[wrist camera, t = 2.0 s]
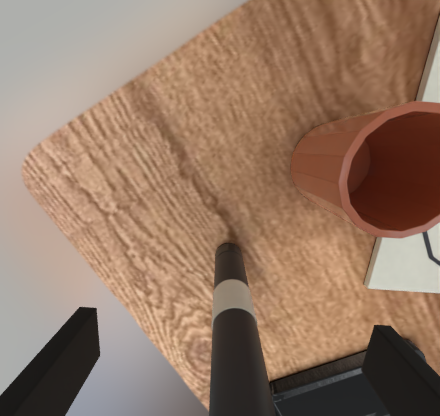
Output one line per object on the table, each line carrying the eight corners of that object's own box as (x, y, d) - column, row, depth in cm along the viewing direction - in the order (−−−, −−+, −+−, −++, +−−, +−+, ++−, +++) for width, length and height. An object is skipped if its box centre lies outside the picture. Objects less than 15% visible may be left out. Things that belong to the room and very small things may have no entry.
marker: (215, 241, 18) (207, 451, 6) (243, 243, 18) (297, 456, 6) (213, 266, 19) (202, 507, 6) (240, 267, 19) (283, 510, 6)
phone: (263, 397, 21) (422, 346, 19) (261, 385, 22) (411, 336, 20) (290, 448, 23) (437, 406, 21) (287, 435, 24) (427, 393, 22)
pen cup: (297, 118, 16) (357, 95, 9) (380, 125, 16) (500, 107, 9) (284, 200, 17) (327, 233, 10) (360, 205, 17) (450, 242, 11)
